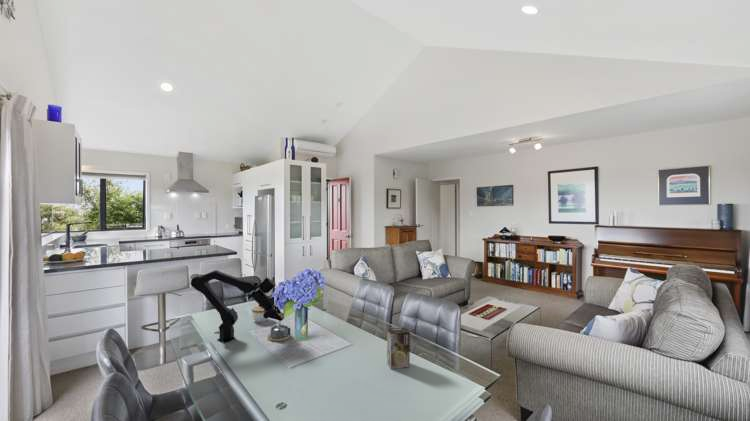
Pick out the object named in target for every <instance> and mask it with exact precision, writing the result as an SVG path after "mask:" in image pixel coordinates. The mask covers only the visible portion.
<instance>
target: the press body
mask: <svg viewBox="0 0 750 421" xmlns="http://www.w3.org/2000/svg"><path fill="white" fill-rule="evenodd" d="M275 327H279V324H277V325H273V326H272V327H270V333H269V334H268V336H267V340H268V341H270V342H275V343H276V342H277V343H278V342H284V341H287V340H289V339H291V337H292V336H291V335H292V333H291V327H289V326H288V325H285V324H281V327H285V328H286V329H285V330H281V331H275V330H273V329H274V328H275Z"/></svg>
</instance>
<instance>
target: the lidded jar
mask: <svg viewBox="0 0 750 421" xmlns="http://www.w3.org/2000/svg"><path fill="white" fill-rule="evenodd" d="M264 312H265V311H264V309H263V308H262V307H261V306H260V307H259V306H254V307H252V309H251V315H252V319H253V320H254V321H255V323H264V322H267V320H268V318H267V319H265V318H264V317H263V314H264Z"/></svg>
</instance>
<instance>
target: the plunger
mask: <svg viewBox="0 0 750 421" xmlns="http://www.w3.org/2000/svg"><path fill="white" fill-rule="evenodd" d="M278 314H279V315H280V317H281V318H282V321H283V320H284V319H285V313H284V312H282V311H281V312H279V313H278ZM282 321H279V320H278V325H279V327H275V328H274V329H273V330H275V331H281V330H285V329H286V328H285V327H281V325H282Z"/></svg>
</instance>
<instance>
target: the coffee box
mask: <svg viewBox="0 0 750 421" xmlns="http://www.w3.org/2000/svg"><path fill="white" fill-rule="evenodd" d="M386 331H387V332H386V364H387V365H388V367H389V370H390V369H391V370H397V369H405V368H404V367H406V368H410V361H411V360H410V359H411V358H410V357H411V356H410V354H411V353H410V351H411V349H410V348H411V347H410V346H411V342H410V341H411V340H410V339H411V335H410V334H411V332H410V331H409V330H408V329H407V328H406V327H394V328H387V329H386ZM396 368H397V369H396Z"/></svg>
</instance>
